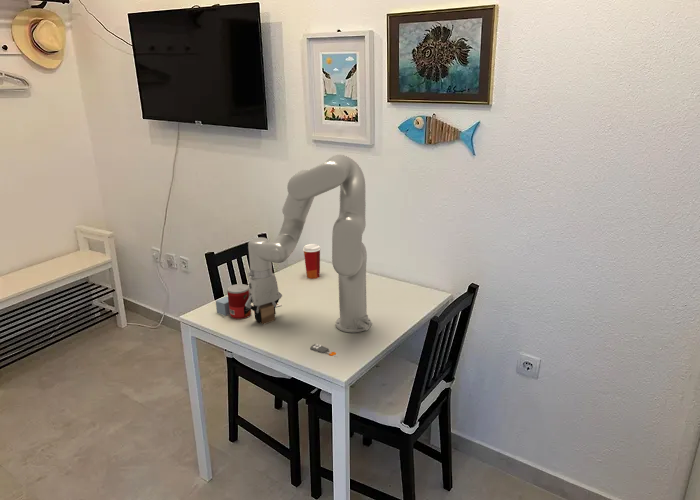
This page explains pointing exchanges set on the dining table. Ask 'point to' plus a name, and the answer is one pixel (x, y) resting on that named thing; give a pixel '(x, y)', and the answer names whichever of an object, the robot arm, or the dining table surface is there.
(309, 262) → the paper cup
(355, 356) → the dining table surface
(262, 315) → the walnut block
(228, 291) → the canned food
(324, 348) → the key chain
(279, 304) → the swatch
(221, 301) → the slate block
